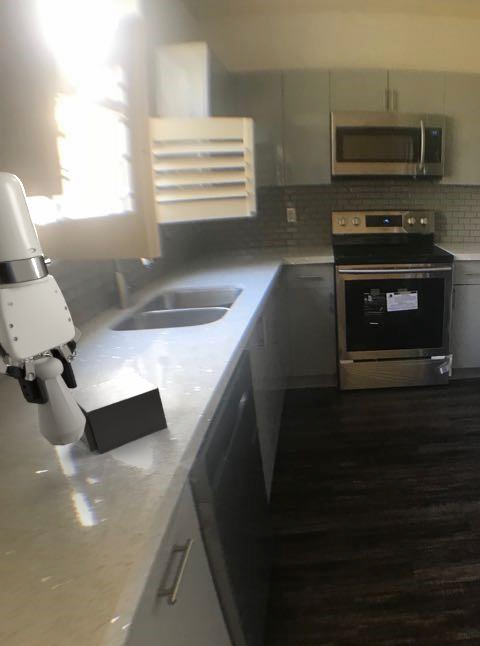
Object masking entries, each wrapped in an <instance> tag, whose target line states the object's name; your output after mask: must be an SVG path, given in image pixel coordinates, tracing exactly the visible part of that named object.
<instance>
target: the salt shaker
mask: <svg viewBox="0 0 480 646" xmlns="http://www.w3.org/2000/svg"><path fill="white" fill-rule="evenodd" d="M34 368H35V377H39V378H41V380H42V383H43V386H44V389H45V392H46V395H47V398H48V402H47V403H45V404H36V406H37V418H38V431H39V433H40V435H41V436H42V437H43V438H44V439H46V441H48V442H49V443H50V445H52V446H53V447H54V446H56V447H57V446H67V445H70V444H72V443H75V442H77V441H80V437H81V436H82V435H83V432H84V428H85V423H86V418H85V417H84V415H83V413H82V411H81V410H80V408H79V406H78V404H77V403H76V401H75V399H74V398H73V396H72V394H71V392H72V391H70V388H68V387H67V385H66V384H65V382H64V380H63V379H62V377H61V375H60V374H61V373H62V372H63V365H62V363H61V361H60V360H58V359H56V358H51V356H49V357H42V358H38V359H35V360H34Z"/></svg>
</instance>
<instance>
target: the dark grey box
mask: <svg viewBox="0 0 480 646" xmlns="http://www.w3.org/2000/svg"><path fill="white" fill-rule="evenodd" d="M70 392H71V394H72V396H73V398H74V399H75V401H76V403H77V404H78V406H79V408H80V409H82V410H83V411H84V412H85V413H86V414H87V417H88V420H89V423H90V426H91V430H92V433H93V436H94V439H95V443H96V446H97V449H98V450H95V451H96V452H97V453H98V454H99V455H103V454H104V453H107V452H109V451H112V450H115V449H117V448H119V447H122V446H124V445H126V444H129V443H132V442H134V441H137V440H139V439H142V438H144V437H146V436H147V437H148V436H149V435H152V434H153V433H156V432H158V431H162V430H164V429H166V428H168V422H167V418H166V415H165V410H164V406H163V402H162V401H163V400H162V398H161V393H160V388H159V387H158V386H157V385H155V384H153V383H152V382H150V381H149V380H147V379H146V378H145V377H143V376H141V375H140V374H138V373H136V372H132V373H128V374H125V375H122V376H118V377H116V378H113V379H109V380H106V381H103V382H100V383H96V384H94V385H90V386H87V387H84V388H79V389H78V390H74V391H70Z"/></svg>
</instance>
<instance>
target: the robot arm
mask: <svg viewBox="0 0 480 646" xmlns="http://www.w3.org/2000/svg"><path fill="white" fill-rule="evenodd" d="M50 265H51V259H50V258H49V257H48V256H46V255H44V254H43V250H42V245H41V242H40V240H39V236H38V232H37V229H36V225H35V223H34V219H33V215H32V212H31V210H30V206H29V203H28V199H27V195H26V192H25V189H24V186H23V183H22V182H21V180H20V179H19V178H18V177H17V176H16V175H15V174H13V173H10V172H8V171H7V172H6V171H0V374H3V375H5V376H8V377H10V378H11V379H14V380H17V381H18V385H19V387H20V391H21V393H22V395H23V398H24V399H25V401H26V402H27V403H29V404H35V405H37V404H45V403H47V402H48V398H47V395H46V392H45V389H44V386H43V383H42V380H41V378H39V377H35V368H34V361H35V360H34V358H35V357H36V356H39V355H41V354H44V353H46V352H47V354H48V355H49V357H51V358H56V359H58V360H60V361H61V363H62V365H63V372H62V373H61V374H60V375H61V377H62V379H63V380H64V382H65V384H66V385H67V387H68V389H69V390H70V389H71V390H74V389H76V388H77V387H78V383H77V380H76V375H75V373H74V369H73V367H72V363H73V362H74V359H75V357H74V353H75V350H76V348H77V344H78V343H79V342H80V340H81V338H82V337H83V333H84V332H83V331H82V330H81V329H80V328H79V327H77V326H76V325H75V324H74V321H73V319H72V315H71V312H70V309H69V307H68V304H67V302H66V299H65V297H64V295H63V293H62V291H61V289H60V287H59V285H58V283H57V281H56V279H55V277H54V276H53V275H50V273H49V270H48V266H50ZM7 357H8V363H9V364H7V363H5V362H4V360H5V358H7Z"/></svg>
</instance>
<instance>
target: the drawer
mask: <svg viewBox="0 0 480 646" xmlns="http://www.w3.org/2000/svg"><path fill="white" fill-rule="evenodd" d="M80 410H81V411H82V413H83V415H84V417H85V418H86V423H85V428H84V432H83V435H82V436H81V437H80V439H79V441H80V442H81V443H82V444H83V445H84V446H85V447H86V448H87V449H88V451H89V452H90V453H93V452H95V451H96V450H98V449H97V446H96V443H95V439H94V436H93V433H92V430H91V426H90V423H89V420H88V417H87V414H86V413H85V412H84V411H83V410H82V409H80Z"/></svg>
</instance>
